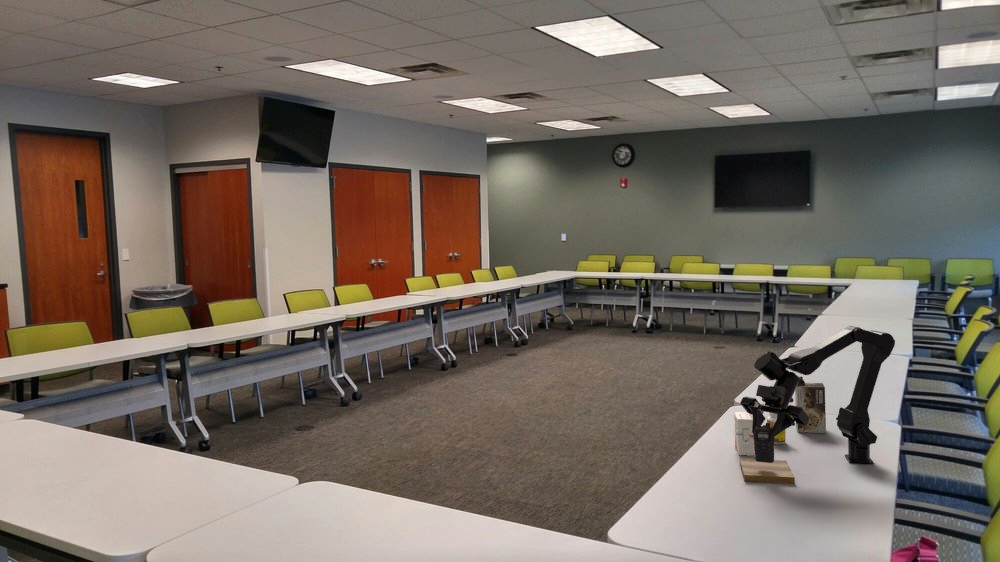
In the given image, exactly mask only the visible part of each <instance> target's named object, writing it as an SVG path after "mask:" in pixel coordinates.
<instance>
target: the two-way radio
mask: <svg viewBox="0 0 1000 562" xmlns="http://www.w3.org/2000/svg"><path fill="white" fill-rule="evenodd" d="M771 430H772V428H771V427H770V424H769V423H767V422H766V423H765V424H764V425H763V424H762V425H761V415H760V410H759V409H758V410H757V427H755V429H754V433H753V438H754V459H755V460H756V461H757V462H766V463H773V462H774V460H775V444H774V438H770V433H771Z"/></svg>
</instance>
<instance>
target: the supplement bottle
mask: <svg viewBox="0 0 1000 562" xmlns="http://www.w3.org/2000/svg"><path fill="white" fill-rule="evenodd" d="M776 420H777V414H774V413H769V416H768V417H767V418H766V423H769V424H770V427H771V428H773V426H774V424H775V422H776ZM786 438H787V437H786V429H785V430H783V431H782V432H781V433H779V434H778V435H776V436H775V437H774V445H783V444H785V443H786V440H787V439H786Z"/></svg>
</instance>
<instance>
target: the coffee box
mask: <svg viewBox="0 0 1000 562" xmlns="http://www.w3.org/2000/svg"><path fill="white" fill-rule="evenodd" d="M805 384H806V385H805V386H797V387H796V390H795V392H794V393H795V394H794V395H795V396H794V400H795V401H794V402H795V403H794V404H795V406H799V407H802V408H803V410H804V411H805V412H806V414H807V415H808V417H809V421H808V423H807V425H806V426H804V425H799V424H797V423H796V422H795V429H796V432H797V433H805V432H806V434H807V432H808V434H813V433H814V434H826V433H827V425H826V424H827V421H826V420H827V419H826V417H827V416H826V387H825V385H824V383H822V382H805Z"/></svg>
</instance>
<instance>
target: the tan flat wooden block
mask: <svg viewBox="0 0 1000 562" xmlns="http://www.w3.org/2000/svg"><path fill="white" fill-rule="evenodd" d="M739 467H741V468H740V471H741V474H742V478H743V481H744V483H756V484H757V483H758V484H775V485H777V484H778V485H795V484H796V483H795V482H796V480H795V475H794V473H793V471H792V469H791V467H790V465H789V463H788V461H787V460H783V459H781V460H780V459H774V462H773V463H766V462H757V461H756V460H755V458H739Z"/></svg>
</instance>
